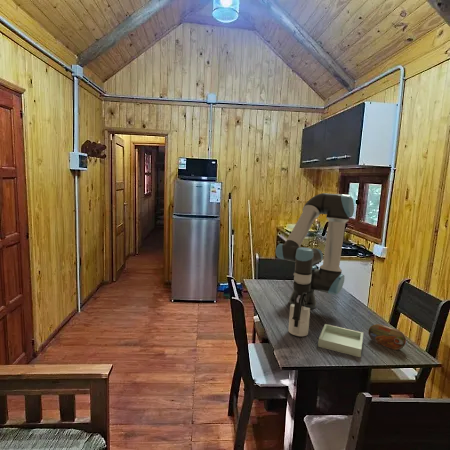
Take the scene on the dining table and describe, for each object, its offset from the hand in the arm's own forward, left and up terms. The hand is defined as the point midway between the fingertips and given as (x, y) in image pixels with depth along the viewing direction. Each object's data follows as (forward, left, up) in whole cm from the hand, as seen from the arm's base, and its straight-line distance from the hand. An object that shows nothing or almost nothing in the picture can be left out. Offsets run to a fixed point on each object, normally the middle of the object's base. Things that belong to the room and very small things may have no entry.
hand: (298, 328), depth 150 cm
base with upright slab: (0, 0, -2) cm, 2 cm away
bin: (-1, +19, -2) cm, 19 cm away
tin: (-10, +37, -3) cm, 38 cm away
